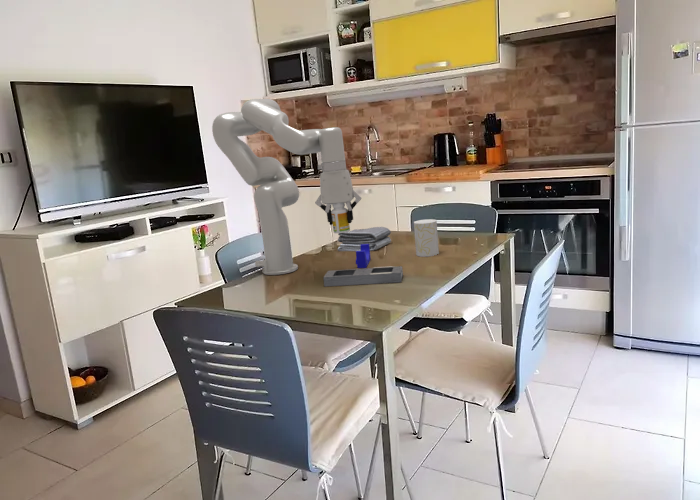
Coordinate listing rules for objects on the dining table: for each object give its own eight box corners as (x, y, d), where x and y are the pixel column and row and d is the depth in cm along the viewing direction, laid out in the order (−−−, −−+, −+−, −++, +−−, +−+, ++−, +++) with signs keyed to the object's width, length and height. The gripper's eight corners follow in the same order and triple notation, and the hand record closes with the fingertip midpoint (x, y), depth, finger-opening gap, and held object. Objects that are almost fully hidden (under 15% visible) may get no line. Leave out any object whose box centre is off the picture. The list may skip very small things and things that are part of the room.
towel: (378, 252, 222) (376, 232, 221) (335, 251, 230) (333, 232, 229) (392, 243, 235) (390, 224, 234) (352, 243, 244) (350, 225, 242)
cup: (413, 256, 207) (411, 223, 205) (419, 251, 214) (417, 219, 212) (435, 256, 204) (433, 223, 201) (441, 251, 211) (438, 218, 209)
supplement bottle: (352, 230, 189) (349, 200, 187) (345, 233, 184) (342, 203, 182) (338, 230, 191) (334, 201, 189) (330, 233, 186) (327, 204, 184)
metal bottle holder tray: (324, 286, 180) (323, 276, 179) (329, 279, 188) (328, 270, 187) (401, 282, 176) (400, 272, 175) (403, 275, 183) (402, 265, 183)
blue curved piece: (358, 260, 211) (356, 244, 209) (370, 260, 210) (369, 243, 209) (353, 269, 199) (351, 252, 198) (366, 268, 198) (364, 251, 197)
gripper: (305, 171, 181) (312, 227, 185) (359, 165, 178) (365, 223, 182) (310, 169, 188) (317, 223, 192) (362, 163, 185) (368, 219, 189)
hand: (340, 222), depth 187 cm, fingers closed on supplement bottle, 5 cm apart
